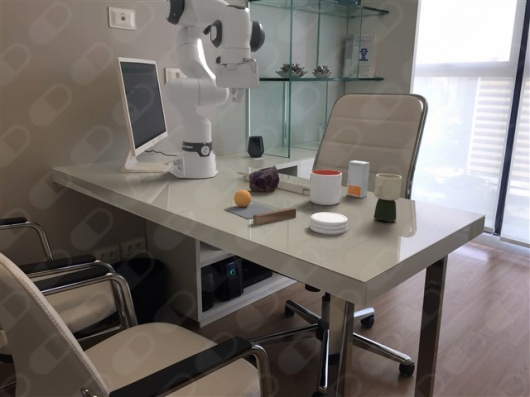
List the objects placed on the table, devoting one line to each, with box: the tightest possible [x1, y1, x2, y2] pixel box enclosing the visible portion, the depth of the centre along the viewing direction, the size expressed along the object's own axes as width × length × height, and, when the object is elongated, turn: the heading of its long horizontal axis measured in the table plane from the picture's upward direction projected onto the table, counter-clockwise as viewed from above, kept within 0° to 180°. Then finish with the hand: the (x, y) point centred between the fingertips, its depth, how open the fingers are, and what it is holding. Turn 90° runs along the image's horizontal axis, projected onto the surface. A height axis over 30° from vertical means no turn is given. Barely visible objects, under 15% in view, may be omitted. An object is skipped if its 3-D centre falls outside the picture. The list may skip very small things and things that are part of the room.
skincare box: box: [346, 160, 371, 199], centre depth 153 cm, size 6×4×12 cm
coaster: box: [309, 211, 349, 235], centre depth 118 cm, size 10×10×4 cm
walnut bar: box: [252, 206, 297, 226], centre depth 124 cm, size 2×14×2 cm, turn 128°
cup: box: [309, 169, 343, 206], centre depth 144 cm, size 10×10×10 cm
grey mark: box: [225, 202, 275, 220], centre depth 133 cm, size 12×12×1 cm
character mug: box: [373, 173, 403, 222], centre depth 125 cm, size 11×7×13 cm, turn 132°
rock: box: [248, 165, 280, 193], centre depth 158 cm, size 12×9×10 cm
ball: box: [233, 189, 252, 207], centre depth 136 cm, size 5×5×5 cm
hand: (236, 102), depth 145 cm, fingers closed
